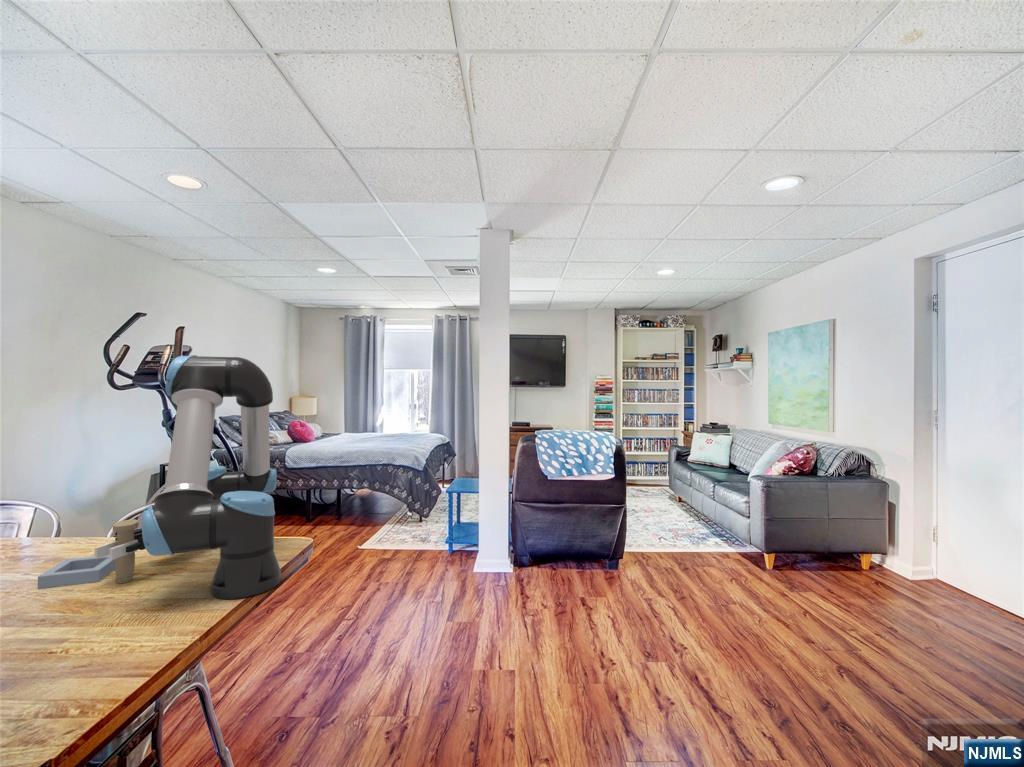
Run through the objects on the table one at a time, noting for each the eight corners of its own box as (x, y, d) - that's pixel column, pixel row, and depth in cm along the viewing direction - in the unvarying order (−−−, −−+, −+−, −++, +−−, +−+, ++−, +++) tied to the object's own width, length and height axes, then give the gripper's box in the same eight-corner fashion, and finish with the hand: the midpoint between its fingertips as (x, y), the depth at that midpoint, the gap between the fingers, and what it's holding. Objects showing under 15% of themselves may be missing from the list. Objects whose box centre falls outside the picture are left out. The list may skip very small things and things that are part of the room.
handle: (109, 588, 109) (111, 527, 109) (114, 579, 114) (115, 521, 115) (135, 583, 112) (136, 524, 112) (138, 574, 117) (139, 518, 117)
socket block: (99, 581, 113) (99, 569, 113) (37, 589, 108) (37, 576, 108) (121, 564, 124) (121, 553, 124) (66, 570, 120) (66, 559, 120)
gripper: (210, 539, 130) (132, 571, 107) (160, 536, 132) (73, 567, 109) (210, 513, 130) (133, 540, 107) (160, 511, 132) (74, 537, 109)
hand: (103, 553), depth 108 cm, fingers closed on handle, 3 cm apart
